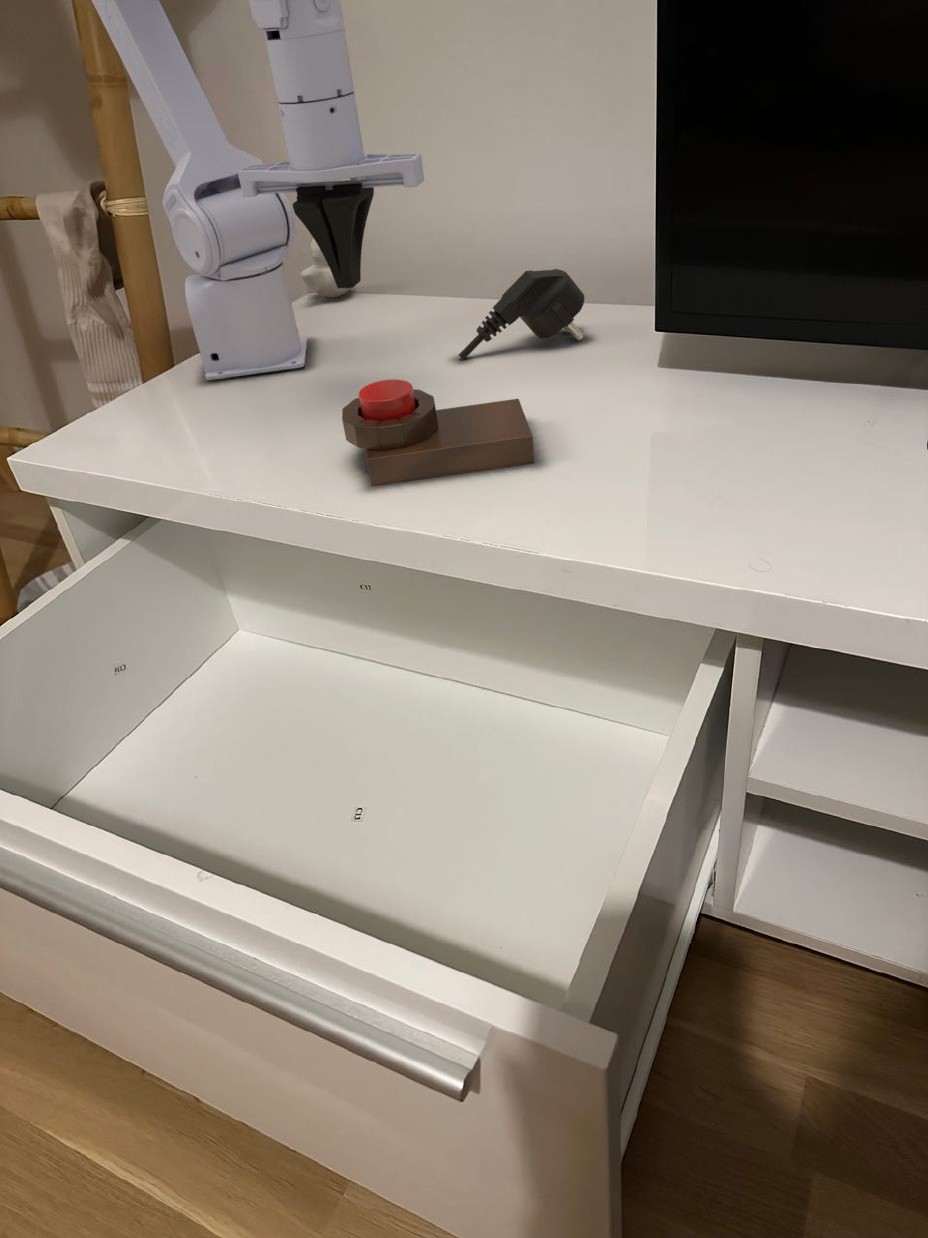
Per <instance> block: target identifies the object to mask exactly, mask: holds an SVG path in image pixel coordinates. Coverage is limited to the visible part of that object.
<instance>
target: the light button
mask: <svg viewBox="0 0 928 1238" xmlns="http://www.w3.org/2000/svg"><path fill="white" fill-rule="evenodd" d="M413 389H414V387H413V385H412V384H411V382H409V381H407V380H402V379H383V380H378V381H375V382H372V383H369V384H367V385H365V386H363V387H362V388H360V390H359V392H358V398H359V400H360V405H361V411H362V416H363V418H364V419H366V420H375V421H385V420H392V419H398V418H400V417H403V416H406V415H408V414H411V413H412V412H413V411H415V409H416V406H415V400H414V393H413Z"/></svg>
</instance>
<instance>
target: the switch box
mask: <svg viewBox="0 0 928 1238" xmlns="http://www.w3.org/2000/svg"><path fill="white" fill-rule="evenodd" d="M413 393H414V400H415V406H416V409H415V411H413V412H412V413H411V414H408V415H406V416H403V417H400V418H398V419H392V420H385V421H375V420H366V419H364V418H363V416H362V411H361V405H360V400H359V397H356V398H354V399H353V400H351V401H350V402H349V403H348V404H347V405H345V406H344V407H343V408H342V410H341V414H342V415H341V420H342V425H343V431H344V435H345V440H346V441H347V442H348V443H349V444H351V445H353V446H355V447H357V448H358V449H364V450H365V458H366V459H365V461H366V465H367V471H368V476H369V481H370V486H371V487H376V486H383V485H391V484H399V483H404V482H412V481H419V480H420V481H421V480H425V479H432V478H433V479H434V478H441V477H448V476H454V475H461V474H469V473H476V472H483V471H489V470H496V469H504V468H511V467H518V466H525V465H531V464H535V450H534V449H535V448H534V436H533V434H532V431H531V428H530V425H529V423H528V419H527V418H526V415H525V412H524V409H523V407H522V403H521V401H520V399H519V398H512V399H506V400H497V401H491V402H490V401H489V402H485V403H484V402H483V403H476V404H470V405H462V406H456V407H448V408H441V409H437V408H436V402H435V397H434V396H433V395H432V394H429V393H427V392H426V391H424V390H421V389H416V388H415V389H414V388H413Z"/></svg>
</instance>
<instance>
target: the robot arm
mask: <svg viewBox="0 0 928 1238" xmlns="http://www.w3.org/2000/svg"><path fill="white" fill-rule="evenodd" d="M91 2H92V4H93V6H94V8H95V11H96V12H97V14H98V16H99V18H100V20H101V22H102V24H103V26H104V28H105V30H106V32H107V34H108V36H109V38H110V40H111V42H112V44H113V46H114V48H115V50H116V52H117V54H118V56H119V58H120V60H121V62H122V63H123V65H124V68H125V70H126V71H127V74H128V76H129V78H130V80H131V82H132V83H133V86H134V88H135V90H136V92H137V93H138V95H139V98H140V100H141V102H142V104H143V105H144V107H145V110H146V112H147V114H148V115H149V117H150V119H151V121H152V123H153V126H154V128H155V129H156V131H157V134H158V135H159V137H160V139H161V142H162V143H163V146H164V147H165V149H166V151H167V153H168V155H169V158H170V159H171V161H172V163H173V165H174V167H175V169H174V172H173V173H172V175H171V177H170V179H169V181H168V183H167V185H166V186H165V188H164V192H163V196H162V206H163V209H164V213H165V214H166V216H167V218H168V221H169V224H170V228H171V231H172V236H173V240H174V243H175V246H176V248H177V251H178V252H179V254H180V256H181V258H182V259H183V261H184V262H185V263H186V264H187V266H189V268H191V269H192V270H193V271H194V272H196V274H191V275H188V276H186V278H185V281H184V292H185V301H186V305H187V311H188V315H189V318H190V323H191V326H192V328H193V333H194V336H195V340H196V343H197V347H198V351H199V353H200V357H201V361H202V365H203V368H204V372H205V374H204V378H205V380H207V381H214V380H220V379H227V378H228V379H229V378H235V377H241V376H242V377H243V376H249V375H257V374H263V373H271V372H278V371H284V370H286V371H287V370H292V369H299V368H300V369H301V368H303V367H304V366H305V364H306V355H307V350H308V349H307V348H308V341H309V340H308V336H306V335H300V336H299V332H298V326H297V322H296V317H295V312H294V308H293V303H292V298H291V293H290V290H289V285H288V281H287V275H286V271H285V266H284V261H287V260H289V258H290V256H289V252H288V251H289V250H288V249H289V248H290V247H291V246H292V244H293V242H294V238H295V232H296V231H295V229H296V222H295V221H296V220H295V216H296V217H297V218H298V219H299V220H300V222H301V223H302V224H303V226H304V227H305V228H306V230H308V232H309V234H310V235H311V237H312V239H313V238H314V240H315V241H316V243H317V245H318V246H319V248H320V250H321V252H322V254H323V256H324V257H325V260H326V262H327V264H328V266H329V268H330V270H331V273H332V275H333V277H334V280H335V283H336V285H337V288H350V289H353V288H355V287H356V286H357V285H359V283H360V282H361V281H362V277H361V276H362V275H361V271H362V270H361V268H362V251H363V241H364V234H365V228H366V224H367V220H368V216H369V212H370V210H371V209H370V208H371V206H372V201H373V200H374V199H373V198H374V193H375V188H384V187H386V188H387V187H401V186H403V187H404V188H417V187H418V186H419V185H421V184H422V183H423V182H424V181H425V176H424V167H423V166H424V165H423V159H422V154H421V153H406V154H403V153H402V154H401V153H393V154H389V153H365V152H364V145H363V140H362V139H363V138H362V132H361V126H360V120H359V113H358V112H359V111H358V106H357V101H356V100H357V99H356V94H355V88H354V81H353V75H352V69H351V61H350V56H349V55H350V54H349V49H348V42H347V36H346V29H345V22H344V16H343V10H342V4H341V0H248V2H249V6H250V10H251V17H252V20H253V21H255V25H256V27H257V29H260V30H262V31H263V36H264V41H265V47H266V50H267V56H268V61H269V66H270V71H271V77H272V82H273V86H274V91H275V96H276V101H277V108H278V112H279V117H280V122H281V127H282V132H283V138H284V142H285V147H286V152H287V158H288V160H287V161H279V162H272V163H264V162H263V161H262V160H261V159H260V158H258V157H256V156H254V155H252V154H250V153H248V152H246V151H244V150H242V149H239V148H238V147H235V146H234V145H232V144H230V143H229V141H228V139H227V137H226V135H225V133H224V131H223V129H222V127H221V125H220V123H219V121H218V119H217V117H216V115H215V113H214V111H213V109H212V106H211V104H210V101H209V100H208V98H207V96H206V94H205V92H204V90H203V88H202V86H201V84H200V81H199V80H198V78H197V75H196V74H195V72H194V69H193V68H192V65H191V64H190V61H189V59H188V57H187V55H186V53H185V51H184V49H183V47H182V45H181V42H180V40H179V39H178V36H177V34H176V32H175V30H174V28H173V26H172V24H171V22H170V20H169V18H168V16H167V13H166V12H165V10H164V8H163V6H162V4H161V1H160V0H91ZM287 193H289V194H290V193H296V201H294V202H293V203H292V205H291V203H290V201H289V199H288V197H287V196H286V194H287ZM294 214H295V215H294Z"/></svg>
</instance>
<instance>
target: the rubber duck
mask: <svg viewBox="0 0 928 1238" xmlns="http://www.w3.org/2000/svg"><path fill="white" fill-rule="evenodd" d="M309 249H310V255H311V258H312V260H313V262H314V263H313V264H312V265H310V266H309V267H306V268H305V269H303V270H302V271H301V272H300V277H301V279H302V281H303V282H304V285H305V291H306V293H308V294H317V295H319V296H322V297H325V298H337V297H340V296H342V295H344V294H346V293H348V292H349V291H350V290H351V288H337V285H336V283H335V280H334V277H333V275H332V273H331V270H330V268H329V266H328V264H327V262H326V260H325V257H324V256H323V254H322V252H321V250H320V248H319V246H318V245H317V243H316V241H315V240H314V238H313V237H312V239H311V242H310V246H309Z"/></svg>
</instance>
